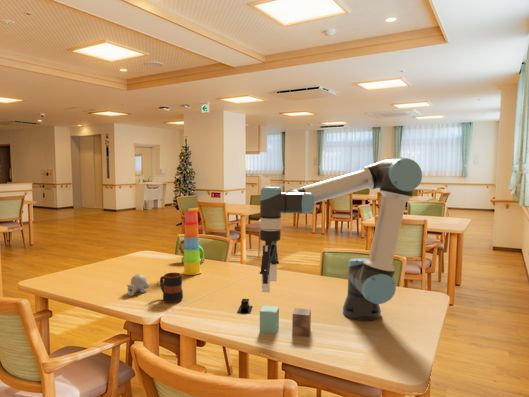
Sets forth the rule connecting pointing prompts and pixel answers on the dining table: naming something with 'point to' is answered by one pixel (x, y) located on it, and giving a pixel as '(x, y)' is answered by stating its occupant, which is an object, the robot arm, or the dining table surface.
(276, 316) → the teal block
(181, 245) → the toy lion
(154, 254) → the dining table surface
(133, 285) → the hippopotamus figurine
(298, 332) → the walnut block
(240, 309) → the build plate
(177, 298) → the mug
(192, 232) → the stacking cups
